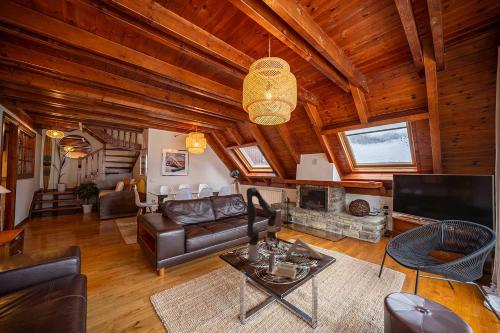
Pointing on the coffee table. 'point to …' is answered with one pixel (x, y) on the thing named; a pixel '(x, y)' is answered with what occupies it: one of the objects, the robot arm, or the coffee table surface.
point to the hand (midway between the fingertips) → (271, 247)
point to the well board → (284, 270)
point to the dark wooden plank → (271, 262)
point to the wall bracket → (308, 250)
